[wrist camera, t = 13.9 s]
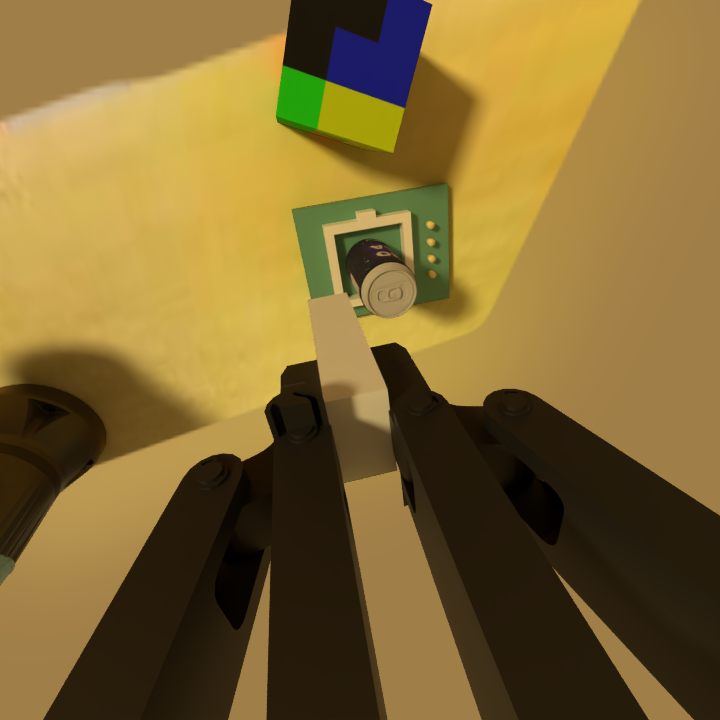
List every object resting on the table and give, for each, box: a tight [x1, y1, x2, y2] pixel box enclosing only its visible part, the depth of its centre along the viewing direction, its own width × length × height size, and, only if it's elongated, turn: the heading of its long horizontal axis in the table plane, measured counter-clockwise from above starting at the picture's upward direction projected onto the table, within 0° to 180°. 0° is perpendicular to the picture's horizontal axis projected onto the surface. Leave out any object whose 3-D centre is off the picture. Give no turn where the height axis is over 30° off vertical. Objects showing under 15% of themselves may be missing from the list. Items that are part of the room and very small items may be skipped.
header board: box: [292, 183, 449, 316], centre depth 45 cm, size 18×14×3 cm
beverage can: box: [345, 238, 417, 318], centre depth 40 cm, size 6×6×12 cm
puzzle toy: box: [276, 0, 432, 153], centre depth 33 cm, size 10×10×10 cm
